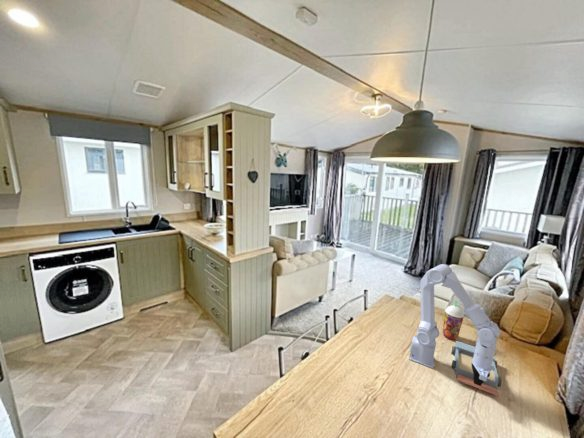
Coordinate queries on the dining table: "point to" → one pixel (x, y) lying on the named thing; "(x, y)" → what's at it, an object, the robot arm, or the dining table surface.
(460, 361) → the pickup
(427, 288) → the robot arm
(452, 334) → the smoothie
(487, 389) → the tailgate
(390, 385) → the dining table surface
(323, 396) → the dining table surface
